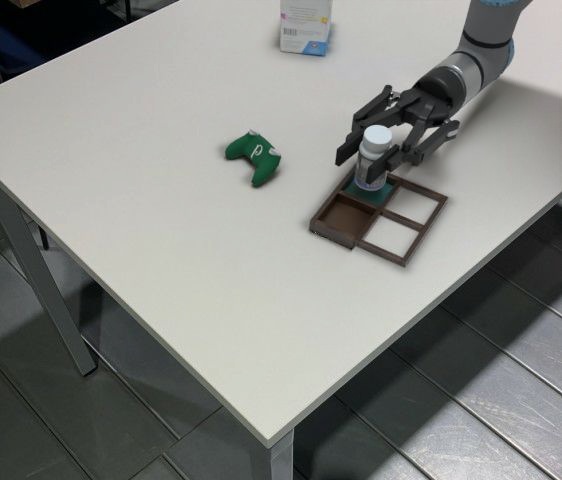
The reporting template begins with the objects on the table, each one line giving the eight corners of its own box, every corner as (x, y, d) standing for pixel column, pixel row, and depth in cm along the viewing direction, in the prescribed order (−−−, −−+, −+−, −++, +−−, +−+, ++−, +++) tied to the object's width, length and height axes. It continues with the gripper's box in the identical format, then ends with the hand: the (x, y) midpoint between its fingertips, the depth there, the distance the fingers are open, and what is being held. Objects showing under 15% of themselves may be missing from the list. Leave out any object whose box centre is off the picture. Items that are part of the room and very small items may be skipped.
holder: (445, 206, 95) (448, 196, 93) (403, 272, 88) (405, 263, 86) (356, 170, 99) (357, 159, 97) (308, 230, 92) (309, 220, 90)
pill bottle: (361, 166, 95) (369, 118, 88) (389, 176, 94) (400, 129, 87) (349, 185, 93) (356, 138, 86) (378, 195, 92) (388, 149, 85)
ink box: (331, 31, 118) (338, -45, 107) (325, 57, 114) (331, -20, 103) (286, 26, 119) (288, -51, 108) (279, 51, 115) (280, -26, 103)
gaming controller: (267, 192, 98) (290, 160, 96) (253, 185, 95) (276, 152, 93) (235, 159, 102) (256, 128, 100) (220, 152, 99) (242, 119, 96)
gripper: (486, 136, 96) (400, 217, 87) (393, 88, 102) (302, 159, 92) (502, 93, 90) (411, 175, 80) (402, 43, 95) (305, 115, 86)
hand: (353, 166), depth 86 cm, fingers closed on pill bottle, 5 cm apart
